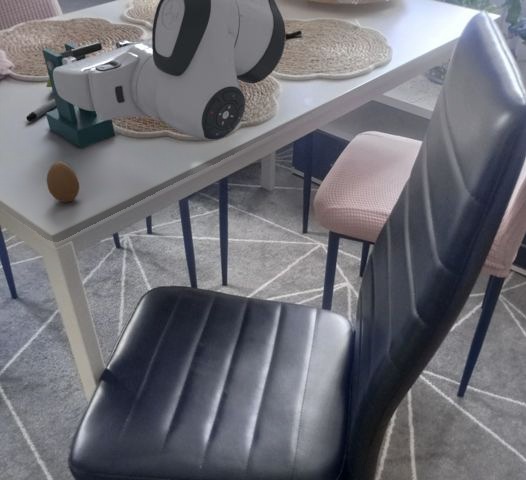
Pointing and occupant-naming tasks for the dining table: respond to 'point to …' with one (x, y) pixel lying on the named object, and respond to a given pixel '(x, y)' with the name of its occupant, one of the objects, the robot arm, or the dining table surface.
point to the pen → (41, 110)
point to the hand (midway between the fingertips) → (94, 54)
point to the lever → (82, 50)
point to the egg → (62, 182)
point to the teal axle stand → (73, 111)
